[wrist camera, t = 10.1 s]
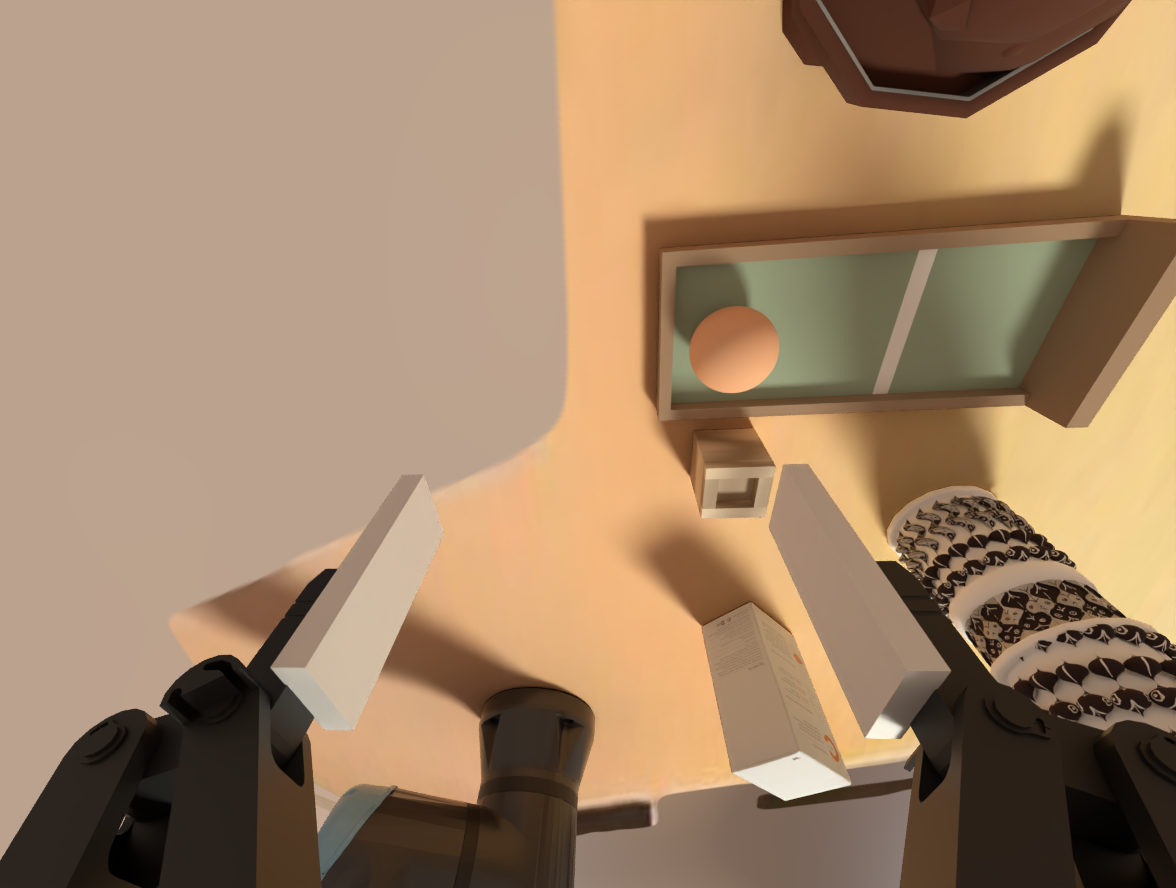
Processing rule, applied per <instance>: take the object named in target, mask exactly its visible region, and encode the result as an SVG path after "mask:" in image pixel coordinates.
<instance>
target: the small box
mask: <svg viewBox="0 0 1176 888" xmlns="http://www.w3.org/2000/svg"><path fill="white" fill-rule="evenodd" d="M702 633H703V638H704V643H705V647H706V652H707V657H708V662H709V666H710V671H711V676H712V681H713V685H714V690H715V695H716V700H717V705H718V709H719V714H720V719H721V724H722V728H723V733H724V738H725V743H726V747H727V752H728V757H729V762H730V767H731V772H732V773H733V774H735V775H737V776H739V777H741V778H743V779H745V780H747V781H749V782H751V783H753V784H755V785H757V786H758V787H760V788H762V789H764V790H766V791H768V792H770V793H772V794H774V795H776V796H777V797H779V798H781V799H783V800H785V801H786V800H790V799H795V798H798V797H803V796H807V795H811V794H815V793H819V792H824V791H828V790H832V789H836V788H840V787H843V786H848V785H851V781H850V778H849V776H848V773H847V770H846V768H845V765H844V763H843V760H842V758H841V755H840V752H839V750H838V748H837V745H836V743H835V740H834V737H833V735H832V732H831V730H830V727H829V725H828V722H827V720H826V717H825V715H824V712H823V709H822V707H821V704H820V702H819V699H818V697H817V694H816V692H815V689H814V687H813V684H812V682H811V679H810V677H809V674H808V672H807V669H806V667H805V664H804V661H803V659H802V656H801V654H800V651H799V649H798V646H797V643H796V641H795V638H794V636H793V635H792V634H791V633H789V632H788V631H787V630H786V629H784V628H783V627H782V626H781V625H779V624H778V623H777V622H776V621H774V620H773V619H772V618H770V617H769V616H768V615H767V614H765V613H764V612H763V611H761V610H760V609H759V608H758V607H756V606H755V605H754V604H753V603H751V602H750V603H747V604H745V605H743V606H741V607H739V608H737V609H735V610H733V611H731V612H729V613H727V614H725V615H723V616H721V617H719V618H717V619H715V620H714V621H712V622H710V623H708V624H706V625H704V626H702Z"/></svg>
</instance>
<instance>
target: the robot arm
mask: <svg viewBox="0 0 1176 888" xmlns="http://www.w3.org/2000/svg"><path fill="white" fill-rule="evenodd" d="M769 529H770V531H771V533H772V536H773V538H774V540H775V542H776V544H777V547H778V549H779V551H780V553H781V555H782V558H783V560H784V562H785V564H786V566H787V569H788V571H789V573H790V575H791V577H792V580H793V582H794V584H795V586H796V588H797V590H798V593H799V595H800V597H801V599H802V601H803V604H804V606H805V608H806V610H807V612H808V615H809V617H810V619H811V621H812V623H813V626H814V628H815V630H816V632H817V634H818V636H819V639H820V641H821V643H822V645H823V647H824V650H825V652H826V654H827V656H828V658H829V661H830V663H831V665H832V667H833V669H834V672H835V674H836V676H837V678H838V680H839V683H840V685H841V687H842V689H843V691H844V693H845V696H846V698H847V700H848V702H849V704H850V707H851V709H852V711H853V713H854V715H855V718H856V720H857V722H858V724H859V726H860V729H861V731H862V733H863V735H864V737H865V738H877V739H901V738H902V737H903V735H904V734H905V733H906V731H907V730H908V729H909V727H910V726H911V727H912V729H913V731H914V733H915V735H916V737H917V738H918V740H919V742H920V745H919V746H918V747H917V749H916V750H915V751H914V752H913V754H912V755H911V756H910V757H909V759H908V760H907V762H906V764H905V766H904V769H906V770H908V771H911V770H912V769H913V767H914V774H913V782H912V791H911V799H910V807H909V815H908V823H907V831H906V840H905V848H904V856H903V864H902V872H901V880H900V888H1176V737H1175V736H1173V735H1172V734H1170V733H1168V732H1166V731H1164V730H1161V729H1159V728H1157V727H1154V726H1152V725H1149V724H1147V723H1143V722H1137V721H1132V720H1125V721H1121V722H1116V723H1114V724H1113V725H1112V726H1111V727H1109V728H1108V729H1107V730H1105V731H1104V730H1101V729H1097V728H1094V727H1091V726H1087V725H1084V724H1080V723H1077V722H1074V721H1070V720H1067V719H1063V718H1060V717H1056V716H1053V715H1050V714H1048V713H1045V712H1044V711H1043V710H1042V709H1041V708H1039V707H1038V706H1037V705H1036V704H1035V703H1034V702H1032V701H1031V700H1030V699H1029V698H1028V697H1027V696H1025V695H1023V694H1021V693H1020V692H1018V691H1016V690H1014V689H1013V688H1011V687H1009V686H1007V685H1004V684H1001V683H998V682H997V681H996V680H995V678H994V677H993V676H992V675H991V674H990V673H989V671H988V670H987V669H986V668H985V666H984V665H983V664H982V662H981V661H980V660H979V658H978V657H977V656H976V654H975V653H974V652H973V651H972V649H971V648H970V647H969V645H968V644H967V643H966V641H965V640H964V639H963V638H962V636H961V635H960V634H959V632H958V631H957V630H956V628H955V627H954V626H953V624H952V623H951V622H950V621H949V619H948V618H947V617H946V615H943V614H942V610H941V609H940V608H939V606H938V605H937V604H936V602H935V601H934V600H933V599H931V598H930V594H929V593H928V592H927V591H926V589H925V588H924V587H923V585H922V584H921V583H920V581H919V580H918V579H917V578H916V577H915V576H914V575H913V574H912V573H910V572H909V571H908V570H906V569H905V568H904V567H903V566H901V565H900V564H899V563H897V562H896V561H875V560H874V559H873V557H872V556H871V554H870V553H869V551H868V550H867V549H866V547H865V546H864V544H863V543H862V541H861V540H860V538H859V537H858V536H857V534H856V533H855V531H854V530H853V528H852V527H851V525H850V524H849V523H848V521H847V520H846V518H845V517H844V515H843V514H842V512H841V511H840V510H839V508H838V507H837V505H836V504H835V502H834V501H833V499H832V498H831V497H830V495H829V494H828V492H827V491H826V489H825V488H824V486H823V485H822V484H821V482H820V481H819V479H818V478H817V476H816V475H815V473H814V472H813V471H812V469H811V468H810V466H809V465H808V464H789V465H783V468H782V473H781V477H780V481H779V486H778V490H777V494H776V498H775V503H774V507H773V511H772V516H771V520H770V524H769ZM443 534H444V531H443V529H442V526H441V523H440V520H439V517H438V514H437V511H436V508H435V505H434V502H433V500H432V497H431V494H430V491H429V488H428V485H427V482H426V479H425V476H424V475H402V476H401V478H400V479H399V480H398V482H397V484H396V485H395V486H394V488H393V489H392V491H391V492H390V494H389V495H388V496H387V498H386V499H385V501H384V502H383V504H382V505H381V507H380V508H379V510H378V511H377V513H376V514H375V515H374V517H373V519H372V520H371V521H370V523H369V524H368V526H367V527H366V529H365V530H364V532H363V533H362V534H361V536H360V537H359V539H358V540H357V542H356V543H355V545H354V546H353V548H352V549H351V550H350V552H349V553H348V555H347V556H346V558H345V559H344V561H343V562H342V564H341V565H340V567H339V568H338V569H325V570H324V571H323V572H321V573H320V574H319V575H318V576H317V577H315V578H314V579H313V580H312V581H311V582H310V583H308V584H307V586H306V587H305V589H304V590H303V591H302V593H301V594H300V595H299V597H298V598H297V599H296V603H295V604H293V605H292V606H291V608H290V609H289V610H288V612H287V613H286V614H285V618H283V619H282V620H281V621H280V623H279V624H278V625H277V627H276V628H275V629H274V631H273V632H272V634H271V635H270V636H269V638H268V639H267V640H266V642H265V643H264V644H263V646H262V647H261V649H260V650H259V651H258V653H257V654H256V655H255V657H254V658H253V659H252V661H251V662H250V663H249V665H248V666H247V668H246V667H245V666H244V665H243V664H242V663H241V662H240V660H239V659H237V658H236V657H234V656H232V655H218V656H215V657H212V658H209V659H207V660H204V661H202V662H201V663H199V664H197V665H195V666H194V667H192V668H190V669H189V670H188V671H187V672H185V673H184V674H183V675H182V676H181V677H180V678H178V679H177V680H176V681H175V682H174V683H173V685H172V686H171V687H170V688H169V690H168V691H167V692H166V693H165V695H164V697H163V699H162V702H161V704H160V707H161V708H162V709H164V710H165V711H166V712H167V713H169V714H168V715H164V716H161V717H158V718H155V719H154V718H152V717H151V716H150V715H148V714H147V713H146V712H145V711H142V710H139V709H131V710H125V711H121V712H119V713H117V714H115V715H113V716H110V717H108V718H106V719H105V720H103V721H102V722H100V723H99V724H97V725H96V726H94V727H93V728H91V729H90V730H89V731H88V732H86V733H85V734H84V735H83V736H82V737H81V738H80V739H79V740H78V741H76V742H75V743H74V745H73V746H72V747H71V749H70V750H69V751H68V752H67V754H66V755H65V756H64V758H63V759H62V761H61V762H60V764H59V766H58V767H57V769H56V771H55V772H54V774H53V775H52V777H51V779H50V780H49V782H48V784H47V785H46V787H45V789H44V790H43V792H42V793H41V795H40V797H39V798H38V800H37V801H36V803H35V805H34V807H33V808H32V810H31V811H30V813H29V815H28V816H27V818H26V819H25V821H24V823H23V824H22V826H21V828H20V829H19V831H18V833H17V834H16V836H15V837H14V839H13V841H12V842H11V844H10V846H9V847H8V849H7V850H6V852H5V854H4V855H3V857H2V859H1V860H0V888H574V875H575V852H576V828H577V803H578V790H579V786H580V783H581V779H582V776H583V773H584V770H585V767H586V763H587V760H588V757H589V754H590V750H591V747H592V744H593V740H594V729H595V717H594V714H593V712H592V710H591V709H590V708H589V707H588V706H587V705H586V704H585V703H584V702H582V701H581V700H579V699H577V698H575V697H573V696H571V695H568V694H565V693H562V692H558V691H554V690H549V689H541V688H519V689H512V690H508V691H504V692H501V693H498V694H496V695H494V696H493V697H491V698H490V699H489V700H488V701H487V702H486V703H485V705H484V707H483V711H482V715H481V720H480V725H479V738H480V758H481V785H480V790H479V795H478V800H477V805H476V804H471V803H466V802H462V801H457V800H451V799H446V798H441V797H436V796H431V795H426V794H421V793H417V792H412V791H408V790H403V789H399V788H398V787H397V786H391V787H385V786H376V785H369V784H359V785H356V786H354V787H352V788H350V789H349V790H348V791H347V792H346V793H345V794H343V796H342V797H341V798H340V799H339V801H338V802H337V803H336V805H335V806H334V808H333V809H332V811H331V812H330V814H329V816H328V817H327V819H326V821H325V822H324V824H323V826H322V827H321V829H320V831H319V832H318V834H317V821H316V808H315V795H314V783H313V770H312V757H311V744H310V740H309V737H308V735H307V733H306V732H307V730H308V728H309V726H310V724H311V723H312V721H313V719H315V720H316V721H317V722H318V724H319V725H320V726H321V727H322V728H323V729H324V730H354V729H355V727H356V725H357V722H358V720H359V718H360V716H361V714H362V711H363V709H364V707H365V705H366V703H367V701H368V698H369V696H370V694H371V692H372V690H373V687H374V685H375V683H376V681H377V679H378V676H379V674H380V672H381V670H382V668H383V666H384V663H385V661H386V659H387V657H388V655H389V652H390V650H391V648H392V646H393V644H394V641H395V639H396V637H397V635H398V633H399V631H400V628H401V626H402V624H403V622H404V620H405V617H406V615H407V613H408V611H409V609H410V607H411V604H412V602H413V600H414V598H415V596H416V593H417V591H418V589H419V587H420V585H421V582H422V580H423V578H424V576H425V574H426V572H427V569H428V567H429V565H430V563H431V561H432V558H433V556H434V554H435V552H436V550H437V547H438V545H439V543H440V541H441V539H442V537H443ZM125 816H126V817H125ZM124 817H125V820H124V822H123V824H122V826H121V827H120V825H121V823H122V821H123V819H124ZM119 827H120V829H119Z"/></svg>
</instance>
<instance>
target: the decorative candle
mask: <svg viewBox="0 0 1176 888" xmlns="http://www.w3.org/2000/svg"><path fill="white" fill-rule="evenodd" d="M887 541H888V545H889V546H890V547H891V548H892V549H893V550H894V551H895V552H896V553H897V554H898V555H899V556H900V558H899V561H900V562H901V563H906V565H907V569H908V570H909V571H911V572H910V573H912V574H913V575H914V576H915V577H916V578H917V579H920V580H919V581H920V583H921V584H922V585H923V587H925V589H926V591H927V592H928V593H929V594H930V598H932V599H933V600H934V601H935V602H936V604H937V605H938V606H939V608H940V609H941V610H942V614H943V615H946V617H947V618H948V619H949V621H950V622H951V623H953V624H954V625H955V626H956V628H957V629H958V630H959V631H960V633H961V634H962V635H963V636H964V637H965V638H966V639H967V640H968V641H969V643H970V644H972V645H974V646H975V648H976V649H977V650H978V652H979V653H980V654H981V656H982V657H983V658H984V659H985V661H986V662H987V663H988V664H989V666H990V667H991V671H990V674H991V675H992V676H993V677H994V678H995V680H996V681H997V682H998V683H1001V684H1004V685H1007V686H1009V687H1011V688H1013V689H1014V690H1016V691H1018V692H1020V693H1021V694H1023V695H1025V696H1027V697H1028V698H1029V699H1030V700H1031V701H1032V702H1034V703H1035V704H1036V705H1037V706H1038V707H1039V708H1041V709H1042V710H1043V711H1044V712H1045V713H1048V714H1050V715H1053V716H1056V717H1060V718H1063V719H1067V720H1070V721H1074V722H1077V723H1080V724H1084V725H1087V726H1091V727H1094V728H1097V729H1101V730H1104V731H1105V730H1107V729H1108V728H1109V727H1111V726H1112V725H1113V724H1114V723H1116V722H1121V721H1125V720H1132V721H1137V722H1143V723H1147V724H1149V725H1152V726H1154V727H1157V728H1159V729H1161V730H1164V731H1166V732H1168V733H1170V734H1172V735H1173V736H1175V737H1176V645H1174V644H1171V643H1170V641H1169V640H1168V639H1167V638H1166V637H1165V636H1163V635H1162V634H1159V633H1158V632H1157V631H1156V630H1155V629H1154V628H1153V627H1152V626H1151V625H1148V624H1145V623H1142V622H1139V621H1136V620H1133V619H1130V618H1127V617H1126V616H1124V615H1123V614H1122V613H1121V612H1120V611H1119V610H1117V609H1116V608H1115V607H1114V606H1113V605H1111V604H1110V603H1109V602H1108V601H1107V600H1106V599H1104V598H1103V597H1102V596H1101V595H1100V594H1099V592H1098V590H1097V589H1096V587H1095V586H1094V584H1092V583H1091V582H1090V581H1089V580H1088V579H1086V578H1085V577H1084V576H1083V575H1082V574H1081V573H1079V572H1078V571H1077V570H1076V565H1075V563H1074V562H1073V561H1071V560H1069V559H1068V556H1067V555H1066V554H1065V553H1064V552H1062V551H1058V550H1055V548H1054V546H1053V545H1052V544H1051V543H1048V542H1047V539H1046V537H1045V536H1043V535H1041V534H1035V531H1034V529H1033V528H1032V526H1030V525H1029V524H1028V523H1027V521H1026V520H1025V519H1024V518H1022V517H1021V516H1019V515H1016V514H1015V513H1014V512H1013V511H1012V510H1011V509H1010V508H1009V506H1008V505H1007V504H1005V503H1004V502H1002V501H999V500H997V499H996V498H995V496H994V495H993V494H992V493H991V492H989V491H986V490H984V489H981V488H979V487H976V486H949V487H945V488H942V489H938V490H934V491H930V492H928V493H926V494H924V495H922V496H920V497H918V498H916V499H915V500H913V501H911V502H909V503H908V504H907V505H905V506H904V507H903V508H902V509H901V510H900V511H899V512H898V513H897V514H896V515H895V516H894V517H893V519H892V521H891V523H890V525H889V527H888V529H887Z"/></svg>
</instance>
